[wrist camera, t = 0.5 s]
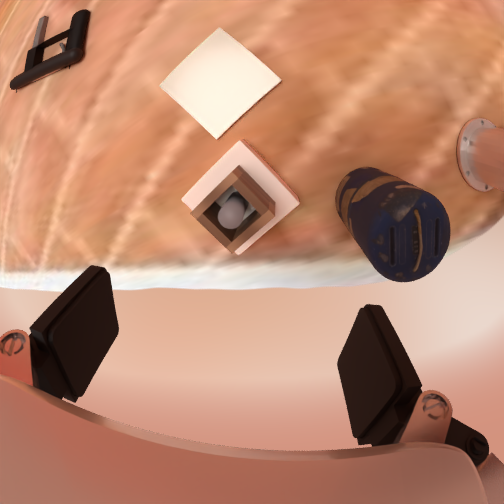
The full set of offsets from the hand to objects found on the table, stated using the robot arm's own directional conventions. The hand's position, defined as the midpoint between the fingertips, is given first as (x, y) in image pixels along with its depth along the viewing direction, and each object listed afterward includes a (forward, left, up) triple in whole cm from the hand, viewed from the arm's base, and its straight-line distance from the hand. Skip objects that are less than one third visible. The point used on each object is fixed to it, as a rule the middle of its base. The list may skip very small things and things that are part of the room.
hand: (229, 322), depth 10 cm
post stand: (+4, 0, -31) cm, 31 cm away
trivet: (-5, -14, -31) cm, 34 cm away
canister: (-9, +12, -31) cm, 34 cm away
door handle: (+8, -48, -31) cm, 58 cm away
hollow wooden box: (+4, 0, -27) cm, 27 cm away
